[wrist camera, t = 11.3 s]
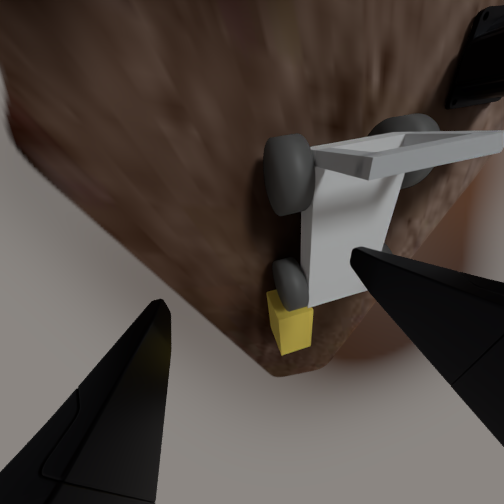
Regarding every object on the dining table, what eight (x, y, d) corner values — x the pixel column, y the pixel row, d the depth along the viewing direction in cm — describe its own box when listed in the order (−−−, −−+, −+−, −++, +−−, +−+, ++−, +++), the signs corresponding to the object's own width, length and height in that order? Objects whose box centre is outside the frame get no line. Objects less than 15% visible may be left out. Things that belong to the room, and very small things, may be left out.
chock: (295, 283, 27) (313, 309, 23) (295, 318, 32) (310, 346, 27) (266, 291, 27) (278, 320, 22) (270, 326, 31) (281, 355, 27)
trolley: (260, 137, 16) (331, 139, 8) (385, 116, 18) (560, 99, 9) (273, 287, 26) (311, 362, 18) (353, 265, 28) (423, 324, 19)
